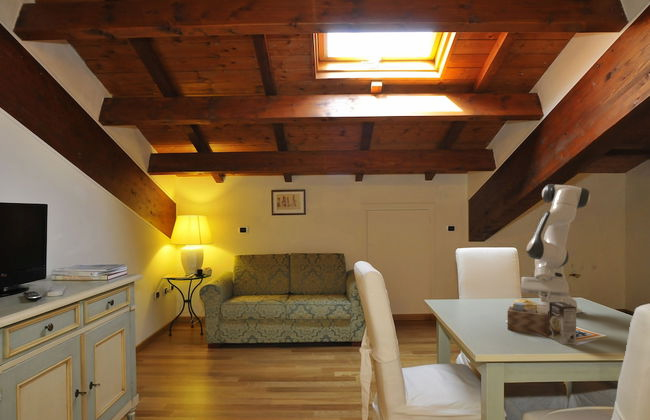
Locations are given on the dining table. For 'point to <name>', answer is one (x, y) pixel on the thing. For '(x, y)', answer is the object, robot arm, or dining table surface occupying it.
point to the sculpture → (527, 303)
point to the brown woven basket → (528, 321)
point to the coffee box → (562, 322)
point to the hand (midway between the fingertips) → (544, 301)
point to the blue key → (518, 306)
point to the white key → (542, 309)
